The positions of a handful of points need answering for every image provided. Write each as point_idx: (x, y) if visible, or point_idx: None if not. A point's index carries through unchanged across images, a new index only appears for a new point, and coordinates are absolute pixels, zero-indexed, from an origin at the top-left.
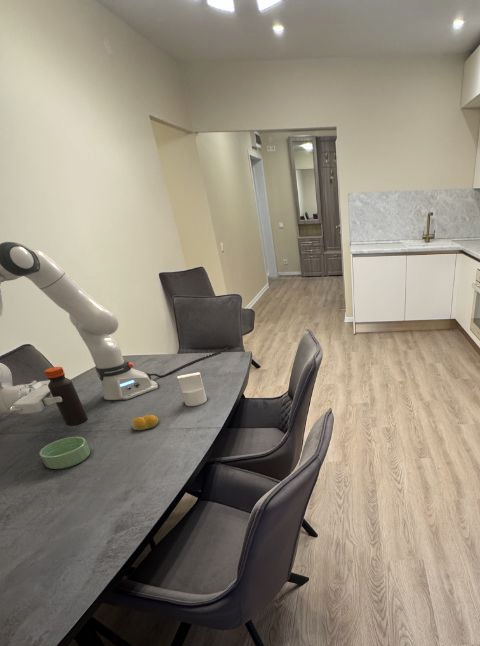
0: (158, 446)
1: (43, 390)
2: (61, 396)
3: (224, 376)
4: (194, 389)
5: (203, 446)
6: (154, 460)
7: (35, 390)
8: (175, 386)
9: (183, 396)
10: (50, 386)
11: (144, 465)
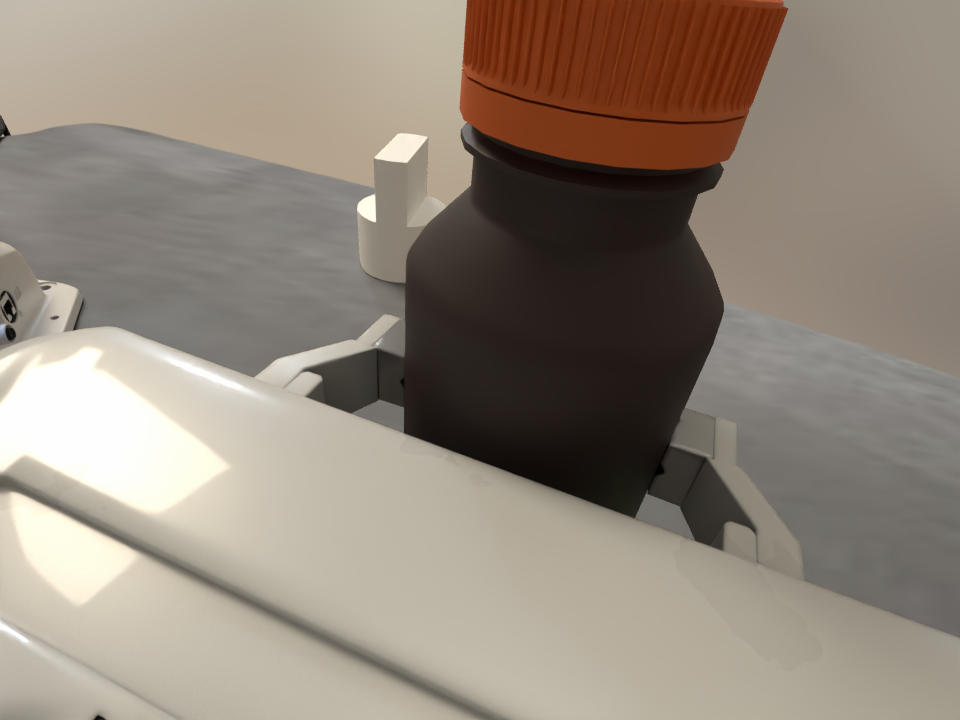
0: (755, 408)
1: (390, 541)
2: (693, 411)
3: (256, 183)
4: (419, 208)
5: (797, 326)
6: (879, 438)
7: (163, 716)
8: (156, 260)
9: (407, 247)
10: (695, 332)
11: (921, 471)
